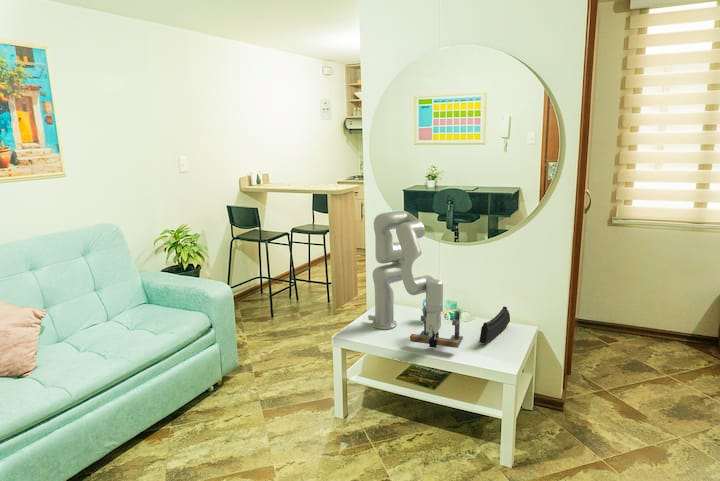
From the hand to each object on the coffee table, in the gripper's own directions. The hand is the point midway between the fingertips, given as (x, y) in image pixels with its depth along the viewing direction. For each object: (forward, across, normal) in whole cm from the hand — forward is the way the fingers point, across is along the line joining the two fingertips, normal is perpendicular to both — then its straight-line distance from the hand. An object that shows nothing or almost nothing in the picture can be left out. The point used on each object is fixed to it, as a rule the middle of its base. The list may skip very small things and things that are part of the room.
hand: (434, 345), depth 221 cm
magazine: (+2, -26, +24) cm, 35 cm away
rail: (-2, 0, 0) cm, 2 cm away
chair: (+2, -33, -11) cm, 35 cm away
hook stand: (+2, -11, 0) cm, 11 cm away
